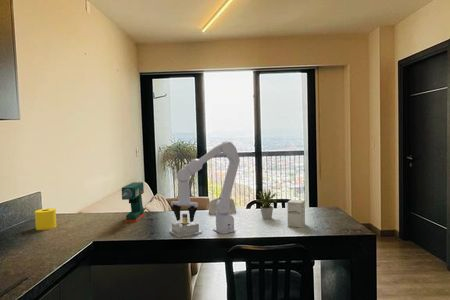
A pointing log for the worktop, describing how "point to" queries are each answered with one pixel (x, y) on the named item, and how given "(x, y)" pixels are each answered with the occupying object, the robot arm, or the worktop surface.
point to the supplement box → (296, 213)
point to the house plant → (266, 204)
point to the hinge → (213, 207)
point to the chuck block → (185, 229)
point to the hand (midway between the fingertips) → (185, 220)
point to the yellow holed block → (45, 219)
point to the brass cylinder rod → (184, 219)
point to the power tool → (134, 200)
